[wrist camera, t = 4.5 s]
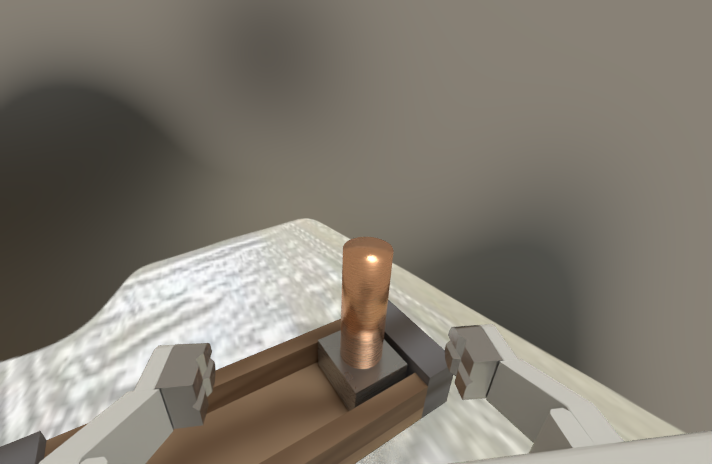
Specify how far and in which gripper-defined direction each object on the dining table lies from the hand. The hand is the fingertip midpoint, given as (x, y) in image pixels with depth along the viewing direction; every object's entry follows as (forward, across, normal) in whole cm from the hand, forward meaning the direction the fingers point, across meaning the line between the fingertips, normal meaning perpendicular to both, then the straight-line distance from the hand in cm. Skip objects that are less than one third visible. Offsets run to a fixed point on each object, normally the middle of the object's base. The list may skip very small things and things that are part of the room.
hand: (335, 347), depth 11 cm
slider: (+11, +3, -16) cm, 20 cm away
